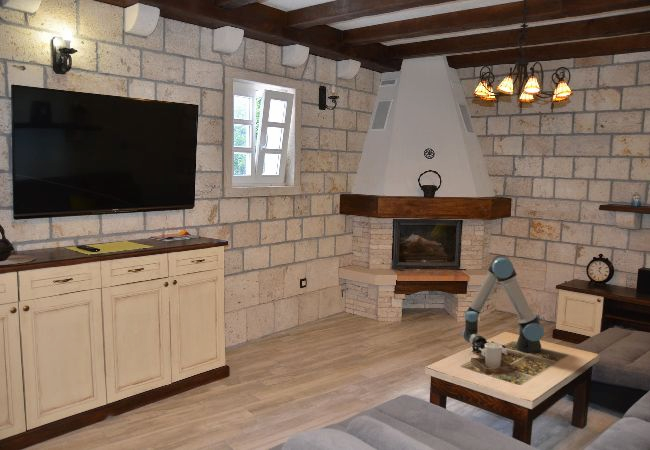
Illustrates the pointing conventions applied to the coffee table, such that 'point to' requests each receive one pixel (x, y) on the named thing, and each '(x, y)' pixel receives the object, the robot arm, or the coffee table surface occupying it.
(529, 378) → the coffee table surface
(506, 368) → the walnut tray
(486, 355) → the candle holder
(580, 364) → the coffee table surface
